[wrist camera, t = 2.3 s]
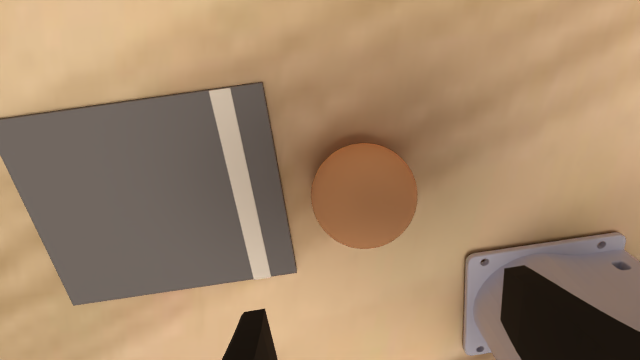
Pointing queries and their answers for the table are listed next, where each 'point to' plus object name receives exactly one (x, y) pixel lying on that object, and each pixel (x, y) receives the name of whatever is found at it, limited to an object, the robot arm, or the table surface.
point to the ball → (364, 195)
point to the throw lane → (153, 192)
